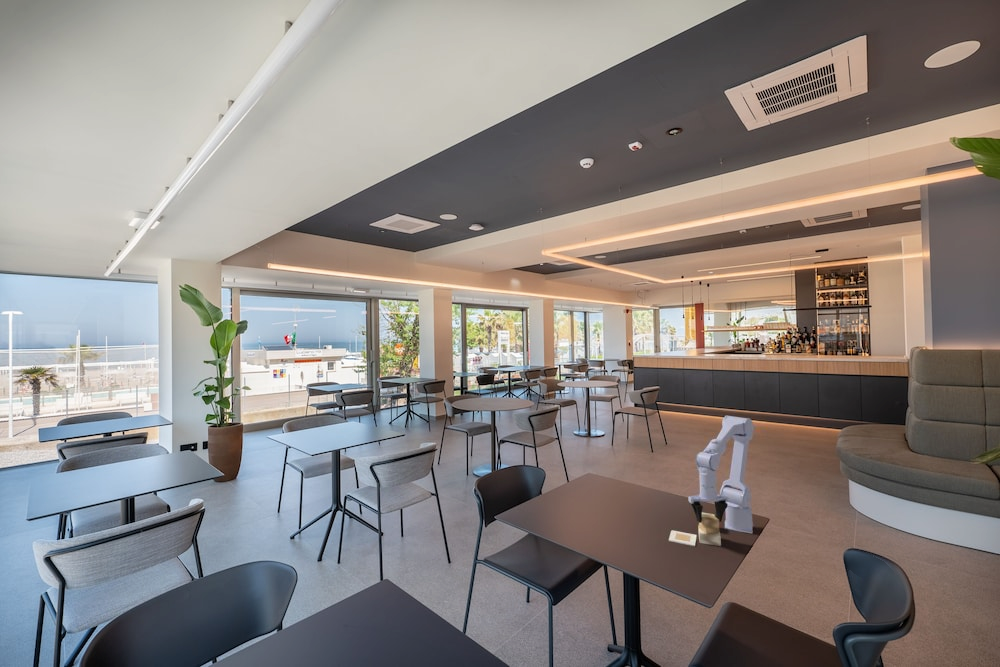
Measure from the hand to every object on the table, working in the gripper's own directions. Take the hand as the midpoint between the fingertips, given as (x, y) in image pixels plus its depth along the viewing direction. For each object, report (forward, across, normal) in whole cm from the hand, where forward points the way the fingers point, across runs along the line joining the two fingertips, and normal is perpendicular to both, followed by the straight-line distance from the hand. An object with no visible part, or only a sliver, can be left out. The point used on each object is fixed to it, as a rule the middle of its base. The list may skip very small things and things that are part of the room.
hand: (709, 521), depth 155 cm
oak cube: (+3, 0, 0) cm, 4 cm away
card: (+7, +9, -2) cm, 12 cm away
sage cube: (+7, -5, -10) cm, 13 cm away
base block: (+8, 0, 0) cm, 8 cm away
